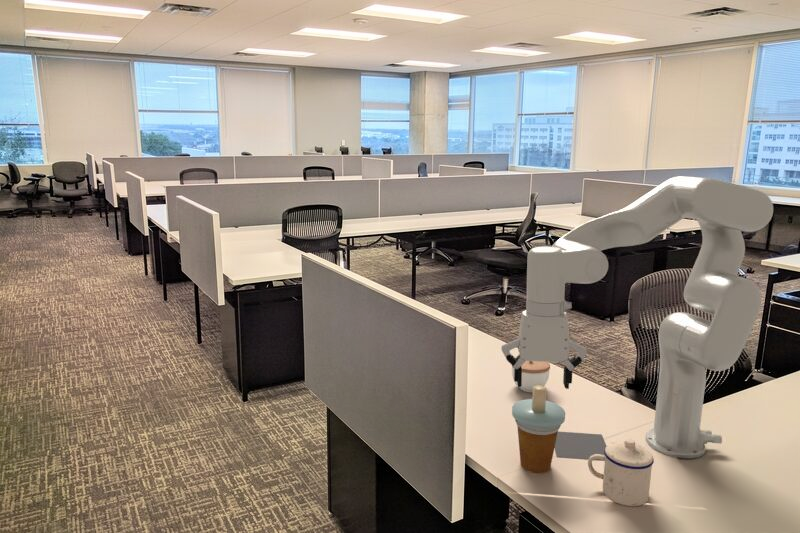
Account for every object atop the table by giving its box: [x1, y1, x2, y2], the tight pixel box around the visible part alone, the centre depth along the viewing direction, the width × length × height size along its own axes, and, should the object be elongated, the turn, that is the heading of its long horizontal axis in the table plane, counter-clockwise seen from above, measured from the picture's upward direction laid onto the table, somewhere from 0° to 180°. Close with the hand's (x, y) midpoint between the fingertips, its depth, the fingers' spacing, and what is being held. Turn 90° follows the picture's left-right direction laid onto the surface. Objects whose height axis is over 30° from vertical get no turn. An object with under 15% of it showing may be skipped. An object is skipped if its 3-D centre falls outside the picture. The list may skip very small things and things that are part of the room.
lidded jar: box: [511, 361, 551, 393], centre depth 164 cm, size 11×11×9 cm
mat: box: [554, 431, 607, 462], centre depth 133 cm, size 12×12×1 cm
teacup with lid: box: [587, 438, 655, 507], centre depth 115 cm, size 12×9×12 cm
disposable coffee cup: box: [514, 418, 562, 474], centre depth 124 cm, size 10×10×12 cm
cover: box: [511, 386, 566, 428], centre depth 122 cm, size 11×11×6 cm
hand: (542, 385), depth 121 cm, fingers open, 9 cm apart
